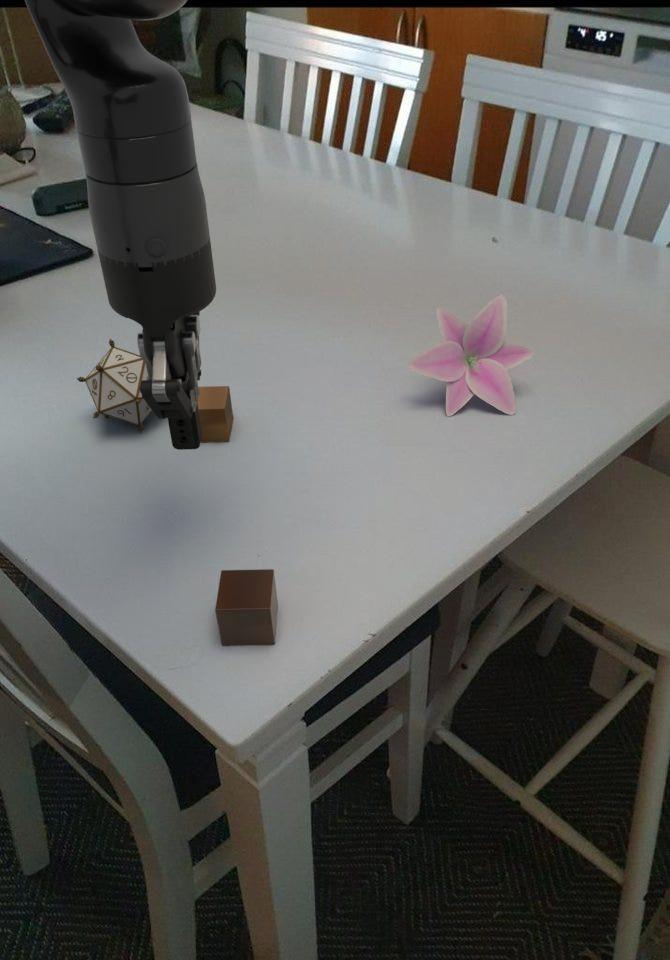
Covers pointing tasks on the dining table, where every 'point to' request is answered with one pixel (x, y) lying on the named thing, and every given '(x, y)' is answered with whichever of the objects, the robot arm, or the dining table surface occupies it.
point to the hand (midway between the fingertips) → (188, 444)
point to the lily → (474, 358)
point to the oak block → (215, 413)
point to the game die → (119, 386)
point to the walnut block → (247, 607)
